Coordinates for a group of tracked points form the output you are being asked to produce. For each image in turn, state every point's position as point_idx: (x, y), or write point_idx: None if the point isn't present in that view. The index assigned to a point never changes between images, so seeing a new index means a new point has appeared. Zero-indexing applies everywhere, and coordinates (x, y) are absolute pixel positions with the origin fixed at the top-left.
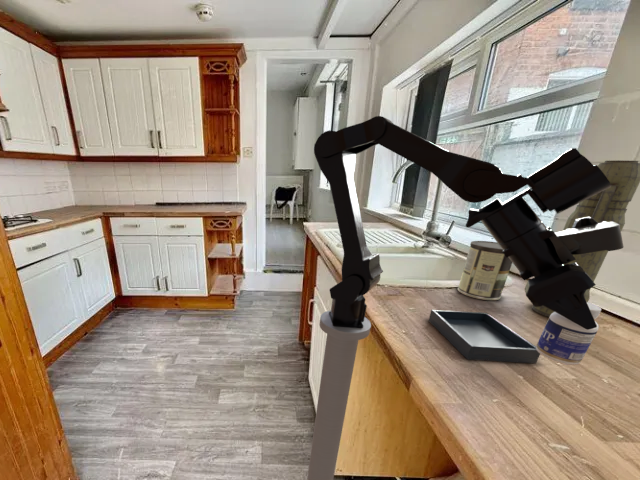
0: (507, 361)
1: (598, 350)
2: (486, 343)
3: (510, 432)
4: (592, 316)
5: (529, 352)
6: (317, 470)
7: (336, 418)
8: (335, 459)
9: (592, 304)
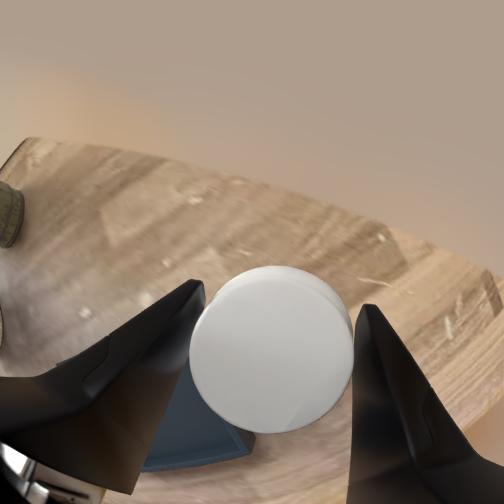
0: None
1: (91, 183)
2: (172, 398)
3: (448, 381)
4: (400, 342)
5: None
6: None
7: None
8: None
9: (237, 304)
